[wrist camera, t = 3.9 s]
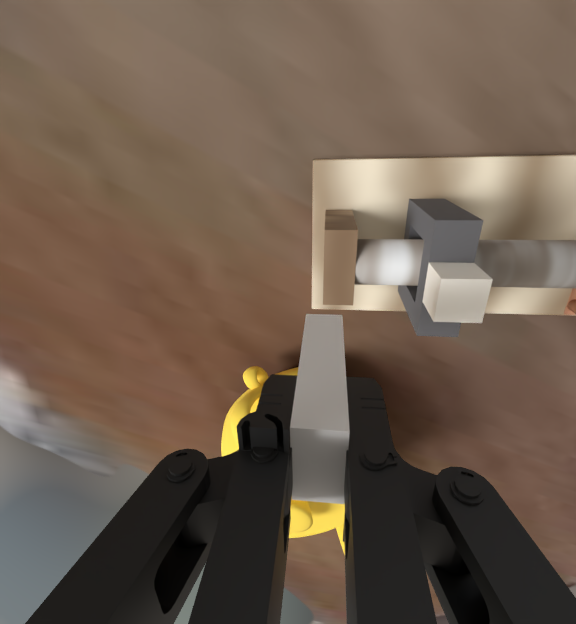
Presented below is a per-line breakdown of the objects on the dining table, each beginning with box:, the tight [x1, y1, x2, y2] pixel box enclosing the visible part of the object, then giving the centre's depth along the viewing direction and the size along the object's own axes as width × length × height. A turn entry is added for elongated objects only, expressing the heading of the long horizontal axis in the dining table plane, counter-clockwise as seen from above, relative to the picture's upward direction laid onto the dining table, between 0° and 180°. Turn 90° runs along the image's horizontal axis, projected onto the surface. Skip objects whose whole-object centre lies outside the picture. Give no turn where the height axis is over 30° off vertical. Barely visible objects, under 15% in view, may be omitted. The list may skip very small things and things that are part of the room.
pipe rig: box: [312, 155, 576, 315], centre depth 25 cm, size 29×12×8 cm, turn 91°
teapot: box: [221, 366, 345, 554], centre depth 32 cm, size 14×20×13 cm
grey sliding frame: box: [398, 199, 493, 337], centre depth 22 cm, size 2×7×10 cm, turn 1°
